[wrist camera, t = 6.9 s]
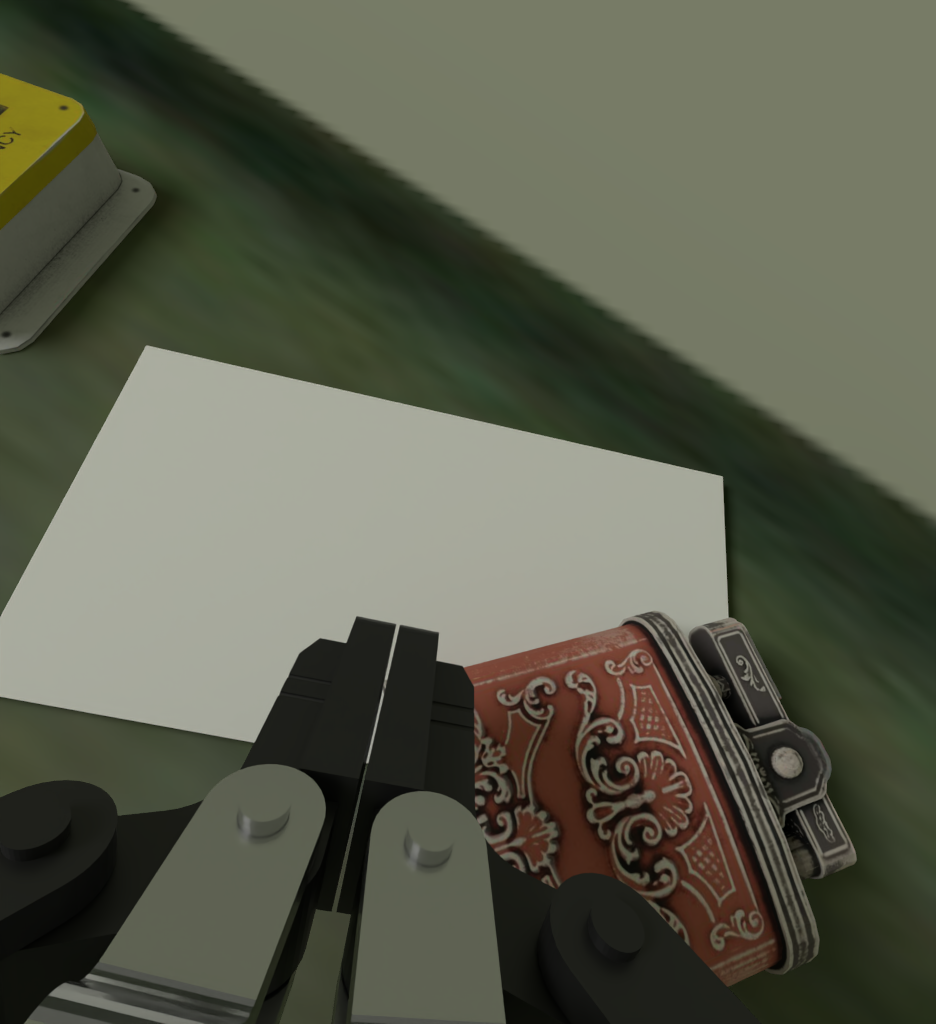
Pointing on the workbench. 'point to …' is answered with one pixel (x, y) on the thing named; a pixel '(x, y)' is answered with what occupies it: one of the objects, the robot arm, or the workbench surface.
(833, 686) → the workbench surface
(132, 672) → the mat
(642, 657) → the lighter
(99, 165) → the emergency button
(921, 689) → the workbench surface
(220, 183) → the workbench surface
